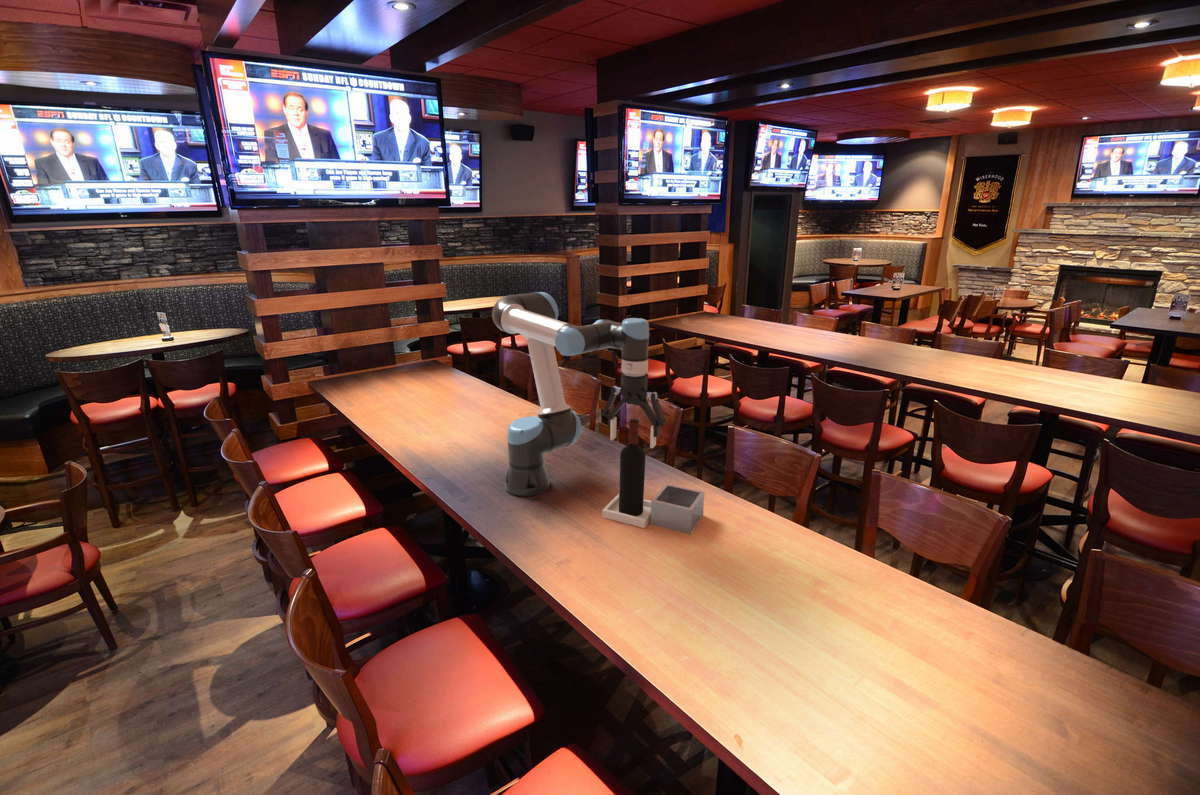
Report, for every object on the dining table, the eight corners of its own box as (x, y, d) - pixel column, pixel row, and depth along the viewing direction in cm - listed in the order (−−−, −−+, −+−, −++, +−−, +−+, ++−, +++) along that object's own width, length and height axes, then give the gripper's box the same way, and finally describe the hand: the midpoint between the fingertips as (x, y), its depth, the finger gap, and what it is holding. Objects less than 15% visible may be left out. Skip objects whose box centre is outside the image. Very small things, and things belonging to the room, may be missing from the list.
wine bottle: (623, 518, 174) (625, 426, 165) (615, 506, 181) (618, 417, 172) (646, 515, 176) (650, 423, 167) (638, 503, 183) (641, 414, 174)
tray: (602, 517, 177) (602, 509, 176) (618, 500, 187) (618, 493, 186) (644, 528, 171) (644, 520, 170) (659, 510, 181) (659, 503, 181)
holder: (650, 524, 173) (651, 500, 171) (664, 506, 184) (665, 483, 181) (690, 534, 168) (691, 510, 165) (702, 515, 179) (704, 492, 176)
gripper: (590, 370, 167) (590, 439, 174) (670, 382, 156) (667, 454, 163) (602, 364, 173) (601, 431, 180) (679, 375, 163) (675, 445, 170)
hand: (632, 442), depth 172 cm, fingers open, 12 cm apart
